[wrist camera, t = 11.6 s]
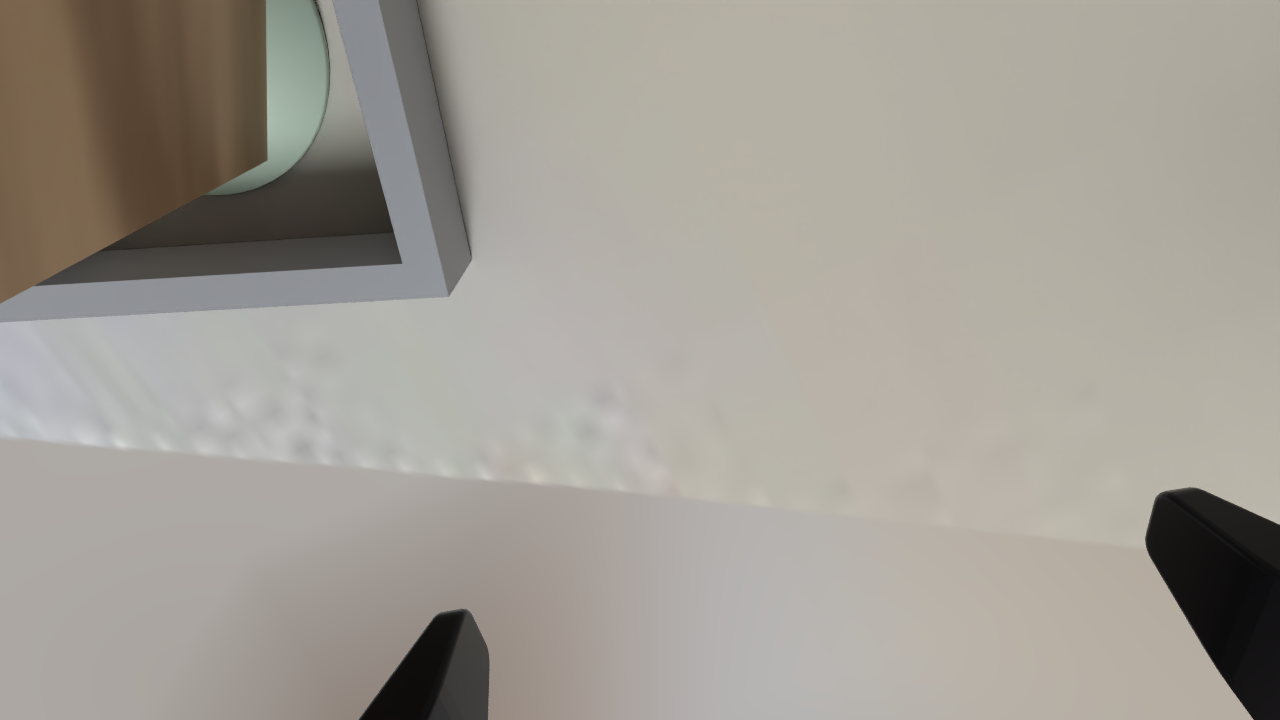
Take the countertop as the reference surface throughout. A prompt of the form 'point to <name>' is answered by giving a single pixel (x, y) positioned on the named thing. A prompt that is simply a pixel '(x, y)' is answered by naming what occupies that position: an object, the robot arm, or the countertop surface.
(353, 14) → the walled pen
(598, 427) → the countertop surface
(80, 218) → the walnut block
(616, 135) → the countertop surface
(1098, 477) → the countertop surface
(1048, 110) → the countertop surface
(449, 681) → the robot arm
